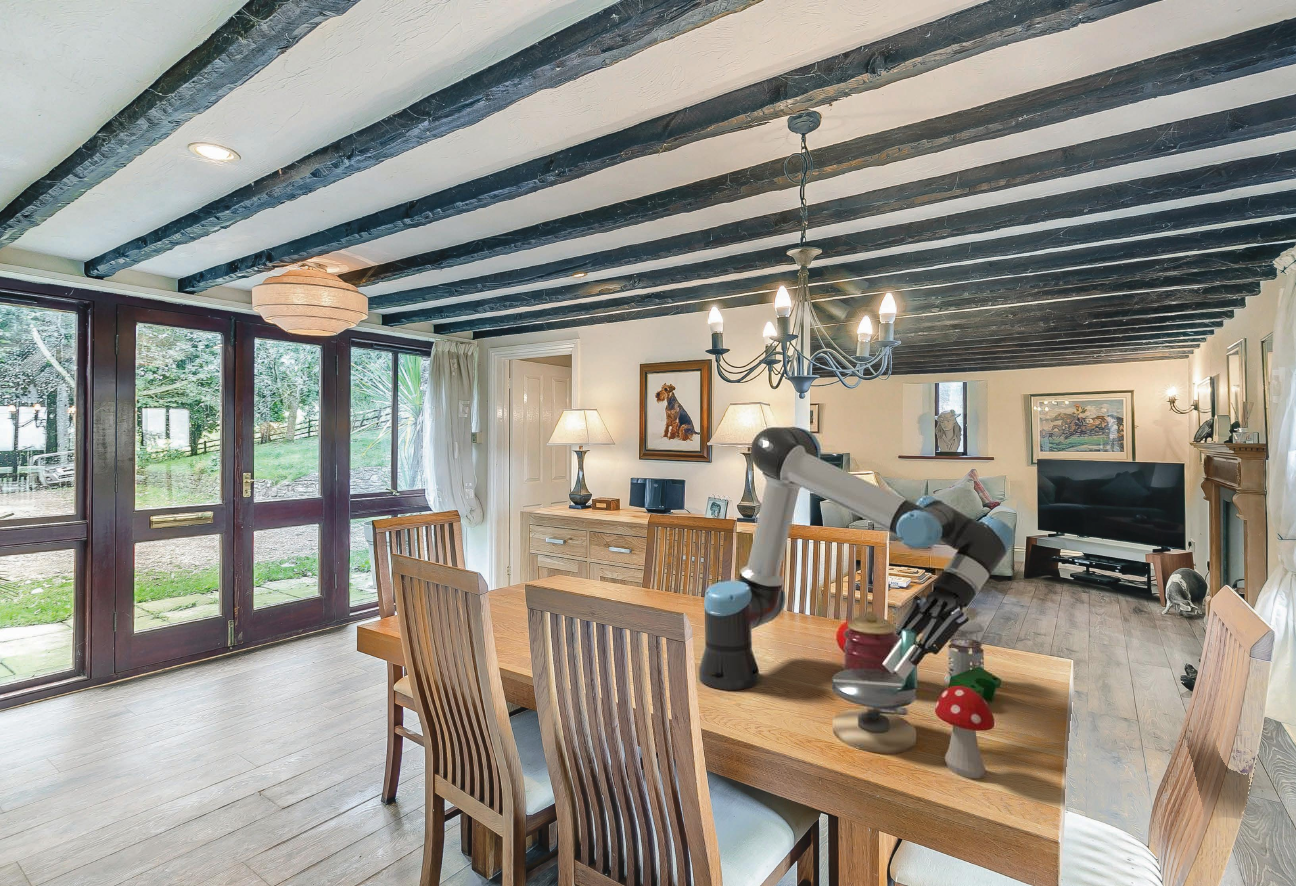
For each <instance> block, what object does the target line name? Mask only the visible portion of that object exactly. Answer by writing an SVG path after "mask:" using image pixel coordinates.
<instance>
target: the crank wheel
mask: <svg viewBox="0 0 1296 886" xmlns="http://www.w3.org/2000/svg"><path fill="white" fill-rule="evenodd" d="M917 640H918V639H917V638H916V631H915V630H911V629H903V630H901V644H902V658H903V657H904V656H905V654H906V653H907V651H908V650H909V649H910V647H911V646H912V645H913V644H914V645H916V644H915V641H917ZM917 642H918V641H917ZM916 646H917V645H916ZM917 647H918V646H917ZM917 688H918V665H917V666H914V668H913V669H912V671H911V672H910V673H909V675H908V676H907V677H906V679H905V680H904V679H902V678H901V677H900V676H899V675H897V674H894V673H890V672H886V671H881V670H875V669H849V670H845V669H843V670H841V671H838V672H836V673H835V674H833V676H832V677H831V690H832V691H833V693H834V694H835V695H837V697H839V698H841V699H843V700H845V701H847V702H850V703H852V704H855V705H859V706H863V707H866V709H867V718H869V719H871V720H879V719H880V713H882V714H893V715H896V716H907V715H908V714H909V709H908V708H906V706H909V705H911V704H913V703H914V702H915V701H916V698H917V697H916V696H917V694H916V689H917Z"/></svg>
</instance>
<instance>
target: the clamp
mask: <svg viewBox="0 0 1296 886" xmlns="http://www.w3.org/2000/svg"><path fill="white" fill-rule="evenodd" d="M981 667H982V666H981ZM981 667H977V668H974V669H972V668H970V670H968V671H966V672H963V673H960V674H957V675H954V676H951V678H950V682H949V683H948V687H947V689H948V688H950V687H953V686H963V687H967V688H970V689H972V690H974V691H975V692H977V693H978V694H979V695H980V696H981V697H982V698H983V699H985V700H988V701H989V702H993V700H994V697H995V693H996V690H997V689H1000V688H1001V685H1002V679H1001V678H999V677H998V676H996V675H994V674H993V673H991V672H989V671H987V670H986V669H985V668H984V669H982V668H981Z"/></svg>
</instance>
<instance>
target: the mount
mask: <svg viewBox="0 0 1296 886" xmlns="http://www.w3.org/2000/svg"><path fill="white" fill-rule="evenodd" d="M832 732H833V734H834V736H835V737H836V738H837V739H838V740H839V741H840V742H842V743H844V744H846V745H848V746H850V747H852V748H855V749H858V750H861V751H864V752H869V753H874V752H876V753H875V754H887V755H889V754H897V753H898V754H899V753H904V752H907V751H909V750H911V749H913V748H914V747H915V746H916V744H917V729H916V728H915V726H914V725H913V724H911V723H910V722H909V721H908V720H906V719H905V718H903V717H900V715H895V714H882V713H880V719H879V720H871V719H869V718H867V708H857V709H855V708H854V709H853V708H852V709H849V710H848V709H847V710H845V711H841V712H839V713H837V714H836V715H834V717H833V718H832Z"/></svg>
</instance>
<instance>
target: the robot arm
mask: <svg viewBox="0 0 1296 886" xmlns="http://www.w3.org/2000/svg"><path fill="white" fill-rule="evenodd" d="M821 455H822V451H821V445H820V441H819V440H818V438H817V437H816V436H815V434H813V432H811V431H809V430H807V429H805V428H802V427H799V426H798V427H796V426H790V427H789V426H788V427H787V426H786V427H785V426H784V427H782V426H778V427H777V426H775V427H773V426H772V427H767V428H765V429H763V430H762V431H760V432H759V433H757V434H756V435H755V437H754V439H753V440H752V443H751V446H750V456H751V460H752V462H753V463H754V465H755V467H756V468H757V469H758V470H760V472H762V473H761V474H762V475H763V477H764V479H765V480H766V482H765V486H764V491H763V496H762V500H761V504H760V507H759V508H760V509H759V513H758V518H757V523H756V526H755V532H754V536H753V540H752V544H751V548H750V553H749V557H748V562H747V565H746V566H743V567H742V568H741V569H740V570H739V576H738V580H725V581H720V582H715V583H713V584H711V585H710V586H708V588H707V589H706V591H705V593H704V600H703V601H704V602H703V607H704V634H705V635H704V639H705V647H704V650H703V654H702V657H701V661H700V664H699V667H698V679H699V681H700V682H701V683H702V684H704V685H705V686H707V687H710V688H714V689H718V690H723V691H724V690H728V691H732V690H733V691H735V690H736V691H737V690H745V689H750V688H752V687H754V686H756V685H757V684H758V683H759V682H760V670H759V666H758V663H757V660H756V657H755V654H754V651H753V648H752V647H753V646H752V644H753V643H752V642H753V641H752V630H753V629H755V628H757V627H760V626H761V625H764V624H766V623H770V622H772V621H773V620H774V619H777V617H778V616H780V614H781V613H782V611H783V610H784V608H785V604H786V592H785V591H784V589H783V587H784V586H783V585H784V579H783V577H782V575H781V573H780V572H781V570H782V569H781V568H782V564H783V560H784V555H785V551H786V549H787V548H786V547H787V544H788V543H787V542H788V540H789V539H788V537H789V535H790V530H791V526H792V521H793V519H794V513H795V509H796V504H797V501H798V496H799V492H800V489H801V488H803V489H804V490H805V489H806V490H807V491H809V492H811V493H813V494H815V495H817V496H819V497H821V498H823V499H825V500H827V501H829V502H831V503H833V504H835V505H836V506H839V507H840V508H843V509H845V510H847V511H849V512H851V513H852V514H855V515H856V516H858V517H861V518H863V519H864V520H866V521H868V522H871V523H872V524H875V525H877V526H879V527H881V528H882V529H884V530H886V531H888V532H891V533H892V534H894V535H896V536H897V537H898V539H899V541H901V543H902V544H904V545H905V546H907V547H908V548H911V549H914V550H922V549H928V548H931V547H933V546H935V545H937V544H938V543H939V542H942V543H944V544H945V545H947V546H949V547H950V548H952V549H954V550H956V553H955V554H954V555H953V556H952V557H951V558H950V560H949V562H948V563H947V564H946V565H945V566H944V568H943V571H941V572H940V574H939V575H938V577H936V579H935V580H934V582H933V584H932V585H933V586H932V587H933V589H932V591H931V592H930V593H929V594H927V595H926V597H925V596H924V597H920V596H919V595H915V596H914V597H913V599H912V602H911V605H910V606H909V608H908V610H907V611H906V613H905V615H904V616H903V618H902V619H901V621H900V622H899V624H898V626H896V630H895V631H894V632H895V633H896V634H897V635H898V637H899V639H898V641H897V642H896V644H895V645H894V646H893V648H892V649H891V653H890V654H889V655H888V657H887V658H886V659H885V661H884V662H883V663H882V664H883V665H884V666H885V667H886V668H887V669H888V670H889V671H890V672H891V673H893V672H894V671H895V672H896V673H897V674H898V675H899V676H900V677H901V678H902V679H904V680H905V679H906V677H907V676H908V675H909V673H910V672H911V671H912V669H913V668H914V666H917V667H918V665H919V664H920V663H921V661H922V660H924V657H926V655H928V654H933V655H935V656H936V655H937V654H939V652H940V651H941V650H942V649H943V648H944V647H945V646H946V644H947V643H948V642H950V639H952V638H953V636H954V635H955V634H956V633H957V632H958V631H957V630H958V629H959V628H960V627H961V626H962V625H964V624H965V623H967V622H968V621H969V619H970V617H968V616H967V614H966V615H965V612H963V609H965V607H966V608H968V606H970V604H971V602H972V601H973V600H974V599H975V597H976V595H977V593H976V592H979V591H980V590H981V588H983V586H984V584H985V583H986V581H987V580H988V579H989V578H990V576H991V574H992V573H993V572H994V571H995V570H996V568H997V567H998V566H999V564H1000V563H1001V561H1002V560H1003V559H1004V557H1005V556H1006V555H1007V553H1008V551H1009V550H1010V548H1011V547H1012V545H1013V543H1014V542H1015V540H1016V534H1015V532H1014V530H1013V529H1012V528H1011V526H1010V525H1008V524H1007V523H1006V522H1005V521H1002V520H1001V519H999V518H994V517H992V516H990V515H989V516H984V517H982V518H981V519H980V520H978V521H977V520H976V519H973V518H971V517H969V516H968V515H966V514H964V513H962V512H961V511H959V510H957V509H955V508H954V507H952V506H950V505H948V504H946V503H945V502H943V501H942V500H941V499H937V498H935V497H932V496H930V495H923V496H921V498H920V499H918V500H917V502H916V503H915V502H912V501H910V500H908V499H906V498H903V497H901V496H899V495H897V494H895V493H893V492H890V491H889V490H887V489H884V488H882V487H880V486H878V485H877V484H874V483H872V482H869V481H868V480H866V479H863V478H861V477H859V476H856V475H855V474H852V473H850V472H848V471H846V470H845V469H843V468H839V466H835V465H834V464H831V463H829V462H827V461H825V460H823V459H821ZM903 629H911V630H915V631H916V639H917V638H918V636H920V635H921V633H922V632H923V631H924V632H923V633H922V635H921V637H920V638H919V640H918V641H915V644H916V645H917V646H916V645H914V644H913V645H912V646H911V647H910V649H909V650H908V651H907V653H906V654H905V656H904V657H903V658H902V644H901V630H903Z"/></svg>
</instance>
